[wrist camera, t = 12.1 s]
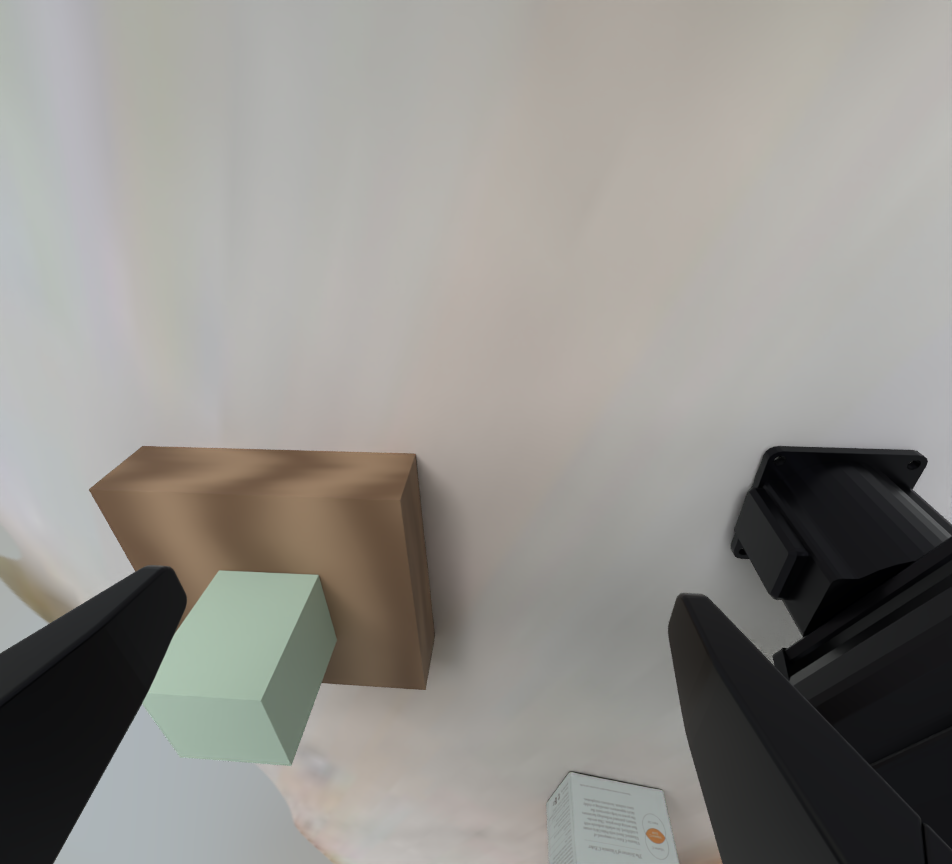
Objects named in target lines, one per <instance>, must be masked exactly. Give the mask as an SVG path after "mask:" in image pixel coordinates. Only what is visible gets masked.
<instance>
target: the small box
mask: <svg viewBox="0 0 952 864" xmlns="http://www.w3.org/2000/svg"><path fill="white" fill-rule="evenodd" d="M546 809H547V831H548V856H549V864H679V859H678V854H677V850H676V846H675V841H674V837H673V832H672V828H671V823H670V819H669V814H668V810H667V806H666V801H665V797H664V793H663V791H662V790H660V789H654V788H648V787H643V786H638V785H633V784H628V783H623V782H618V781H613V780H608V779H603V778H598V777H593V776H588V775H583V774H578V773H574V772H570V773H569V774H568V775H567V776H566V777H565V779H564V780H563V781H562V783H561V784H560V785H559V787H558V788H557V789H556V791H555V792H554V794H553V795H552V796H551V798H550V799H549V801H548V802H547V804H546Z"/></svg>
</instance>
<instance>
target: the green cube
mask: <svg viewBox="0 0 952 864" xmlns="http://www.w3.org/2000/svg"><path fill="white" fill-rule="evenodd" d="M336 641H337V638H336V635H335V631H334V627H333V624H332V620H331V617H330V613H329V610H328V606H327V603H326V599H325V596H324V592H323V589H322V585H321V582H320V578H319V575H311V574H288V573H265V572H243V571H220V570H219V571H218V572H217V574H216V575H215V577H214V578H213V580H212V581H211V582H210V584H209V585H208V587H207V588H206V590H205V591H204V593H203V594H202V595H201V597H200V598H199V600H198V601H197V603H196V604H195V605H194V607H193V608H192V610H191V611H190V613H189V614H188V615H187V617H186V618H185V620H184V621H183V623H182V624H181V626H180V627H179V628H178V630H177V631H176V633H175V634H174V636H173V638H172V641H171V643H170V645H169V647H168V650H167V652H166V654H165V656H164V659H163V661H162V663H161V665H160V668H159V670H158V672H157V674H156V677H155V679H154V681H153V683H152V685H151V687H150V689H149V691H148V693H147V695H146V697H145V699H144V701H143V703H142V704H143V706H144V707H145V709H146V710H147V711H148V713H149V714H150V715H151V717H152V718H153V720H154V721H155V723H156V724H157V725H158V727H159V728H160V729H161V731H162V732H163V734H164V735H165V736H166V738H167V739H168V741H169V742H170V744H171V745H172V747H173V748H174V749H175V750H176V752H177V754H178V755H179V756H180V757H182V758H196V759H209V760H222V761H235V762H248V763H261V764H274V765H287V766H291V765H292V762H293V760H294V757H295V754H296V751H297V749H298V746H299V743H300V740H301V738H302V735H303V732H304V729H305V727H306V724H307V721H308V718H309V716H310V713H311V710H312V707H313V705H314V702H315V699H316V696H317V694H318V691H319V688H320V685H321V683H322V680H323V677H324V674H325V672H326V669H327V666H328V663H329V661H330V658H331V655H332V652H333V650H334V647H335V644H336Z"/></svg>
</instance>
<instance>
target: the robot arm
mask: <svg viewBox="0 0 952 864" xmlns="http://www.w3.org/2000/svg"><path fill="white" fill-rule="evenodd" d="M778 456H781V457H780V458H779V459H778V460H774V459H775V458H776V457H778ZM910 462H911V463H910ZM927 462H928V461H927V458H926V457H924V456H923V455H922V454H920V453H919V452H918V451H915V450H891V449H857V448H823V447H789V446H777V447H773V448H770V449H769V450H767V451H766V452H765V454H764V456H763V459H762V461H761V464H760V467H759V470H758V472H757V475H756V478H755V480H754V483H753V486H752V488H751V489H750V490H749V491H748V493H747V496H746V498H745V501H744V504H743V507H742V509H741V512H740V515H739V518H738V520H737V523H736V526H735V529H734V531H735V535H734V538H733V541H732V543H731V550H732V552H733V554H734V555H735V557H737V558H741V559H750V560H751V562H752V564H753V566H754V568H755V570H756V571H757V573H758V575H759V577H760V579H761V581H762V582H763V584H764V586H765V588H766V590H767V592H768V593H769V594H770V596H771V597H772V598H773V599H776V600H782V601H783V602H784V604H785V606H786V608H787V610H788V611H789V613H790V615H791V617H792V618H793V620H794V622H795V624H796V625H797V627H798V629H799V631H800V632H801V634H802V636H803V638H802V639H800V640H799V641H797V642H796V643H794V644H793V645H792V646H790V647H789V648H787V649H786V648H782V649H781V650H780V651H778V652H777V653H775V654H774V655H773V660H774V665H775V666H774V665H773V664H772V663H771V662H770V661H769V660H768V659H767V658H766V657H765V656H764V655H763V654H762V653H761V652H760V651H759V650H758V649H757V648H756V647H755V646H754V644H753V643H752V642H751V641H750V640H749V639H748V638H747V637H746V636H745V635H744V634H743V633H742V632H741V631H740V630H739V629H738V628H737V627H736V626H735V625H734V624H733V623H732V622H731V621H730V620H729V619H728V618H727V617H726V616H725V614H724V613H723V612H722V611H721V610H720V609H719V608H718V607H717V606H716V605H715V604H714V603H713V602H712V601H711V600H710V599H709V598H708V597H706V596H705V595H703V594H692V593H681V594H679V595H678V596H677V598H676V601H675V605H674V608H673V611H672V614H671V618H670V621H669V625H668V636H669V643H670V648H671V654H672V660H673V665H674V671H675V677H676V682H677V688H678V694H679V700H680V705H681V711H682V716H683V722H684V727H685V732H686V736H687V739H688V743H689V747H690V751H691V754H692V758H693V761H694V765H695V768H696V772H697V775H698V779H699V782H700V786H701V789H702V793H703V796H704V800H705V804H706V807H707V811H708V814H709V818H710V821H711V825H712V828H713V832H714V835H715V839H716V842H717V846H718V849H719V853H720V856H721V860H722V863H723V864H952V524H950V523H949V522H948V521H947V520H946V519H945V518H944V517H943V516H942V515H940V514H939V513H938V512H937V511H936V510H935V509H934V508H933V507H931V506H930V505H929V504H928V503H927V502H926V501H925V500H924V499H922V498H921V497H920V496H919V495H918V494H917V493H916V492H915V491H913V490H912V489H913V487H914V486H915V484H916V482H917V481H918V479H919V477H920V476H921V474H922V472H923V471H924V469H925V467H926V465H927ZM742 548H743V549H742ZM186 605H187V595H186V593H185V591H184V589H183V587H182V585H181V583H180V581H179V579H178V577H177V575H176V573H175V571H174V569H173V568H171V567H169V566H160V565H149V566H145V567H143V568H141V569H139V570H138V571H136V572H134V573H133V574H131V575H129V576H128V577H126V578H124V579H123V580H121V581H119V582H118V583H116V584H114V585H113V586H111V587H109V588H108V589H106V590H104V591H103V592H101V593H100V594H98V595H96V596H95V597H93V598H91V599H90V600H88V601H86V602H85V603H83V604H81V605H80V606H78V607H76V608H75V609H73V610H71V611H70V612H68V613H66V614H65V615H63V616H61V617H60V618H58V619H57V620H55V621H53V622H52V623H50V624H48V625H47V626H45V627H43V628H42V629H40V630H38V631H37V632H35V633H34V634H32V635H30V636H28V637H27V638H25V639H23V640H22V641H20V642H19V643H17V644H15V645H13V646H12V647H10V648H8V649H7V650H5V651H4V652H2V653H0V864H53V863H54V861H55V860H56V858H57V856H58V854H59V852H60V850H61V849H62V847H63V845H64V843H65V842H66V840H67V838H68V836H69V834H70V833H71V831H72V829H73V827H74V825H75V824H76V822H77V820H78V818H79V816H80V815H81V813H82V811H83V809H84V807H85V806H86V804H87V802H88V800H89V798H90V797H91V795H92V793H93V791H94V789H95V788H96V786H97V784H98V782H99V780H100V778H101V776H102V775H103V773H104V771H105V770H106V767H107V766H108V764H109V762H110V761H111V759H112V757H113V755H114V753H115V752H116V750H117V748H118V746H119V744H120V743H121V741H122V739H123V737H124V735H125V734H126V732H127V730H128V728H129V726H130V725H131V723H132V721H133V719H134V717H135V716H136V714H137V712H138V710H139V708H140V706H141V705H142V703H143V701H144V699H145V697H146V695H147V693H148V691H149V689H150V687H151V685H152V683H153V681H154V679H155V677H156V674H157V672H158V670H159V668H160V665H161V663H162V661H163V659H164V656H165V654H166V652H167V650H168V647H169V645H170V643H171V641H172V638H173V636H174V634H175V632H176V629H177V627H178V625H179V622H180V620H181V618H182V616H183V613H184V611H185V609H186Z"/></svg>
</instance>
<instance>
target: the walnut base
mask: <svg viewBox="0 0 952 864" xmlns="http://www.w3.org/2000/svg"><path fill="white" fill-rule="evenodd" d="M89 491H90V492H91V494H92V496H93V498H94V499H95V501H96V503H97V505H98V506H99V508H100V510H101V512H102V514H103V515H104V517H105V519H106V521H107V522H108V524H109V526H110V528H111V529H112V531H113V533H114V535H115V536H116V538H117V540H118V542H119V543H120V545H121V547H122V549H123V551H124V552H125V554H126V556H127V558H128V559H129V561H130V563H131V565H132V566H133V568H134V570H135V572H136V571H138V570H139V569H141V568H143V567H145V566H149V565H160V566H169V567H171V568H173V569H174V571H175V573H176V575H177V577H178V579H179V581H180V583H181V585H182V587H183V589H184V591H185V593H186V595H187V605H186V609H185V611H184V613H183V616H182V618H181V620H180V622H179V625H178V627H177V629H176V631H177V630H178V628H179V627H180V626H181V624H182V623H183V621H184V620H185V618H186V617H187V615H188V614H189V613H190V611H191V610H192V608H193V607H194V605H195V604H196V603H197V601H198V600H199V598H200V597H201V595H202V594H203V593H204V591H205V590H206V588H207V587H208V585H209V584H210V582H211V581H212V580H213V578H214V577H215V575H216V574H217V572H218V571H219V570H220V571H243V572H265V573H288V574H311V575H319V578H320V582H321V585H322V589H323V592H324V596H325V599H326V603H327V606H328V610H329V613H330V617H331V620H332V624H333V627H334V631H335V635H336V638H337V641H336V644H335V647H334V650H333V652H332V655H331V658H330V661H329V663H328V666H327V669H326V672H325V674H324V677H323V680H322V683H329V684H344V685H359V686H374V687H389V688H404V689H419V690H426V685H427V679H428V673H429V667H430V661H431V655H432V650H433V644H434V638H435V632H434V623H433V613H432V604H431V595H430V585H429V576H428V566H427V557H426V547H425V538H424V529H423V519H422V510H421V500H420V491H419V481H418V472H417V463H416V454H407V453H371V452H335V451H299V450H263V449H227V448H191V447H155V446H142V447H141V448H140V449H138V450H137V451H136V452H135V453H133V454H132V455H131V456H130V457H128V458H127V459H126V460H125V461H123V462H122V463H121V464H120V465H119V466H117V467H116V468H115V469H114V470H112V471H111V472H110V473H109V474H107V475H106V476H105V477H104V478H102V479H101V480H100V481H99V482H97V483H96V484H95V485H94V486H93V487H91V488H90V489H89ZM175 633H176V632H175Z"/></svg>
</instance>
